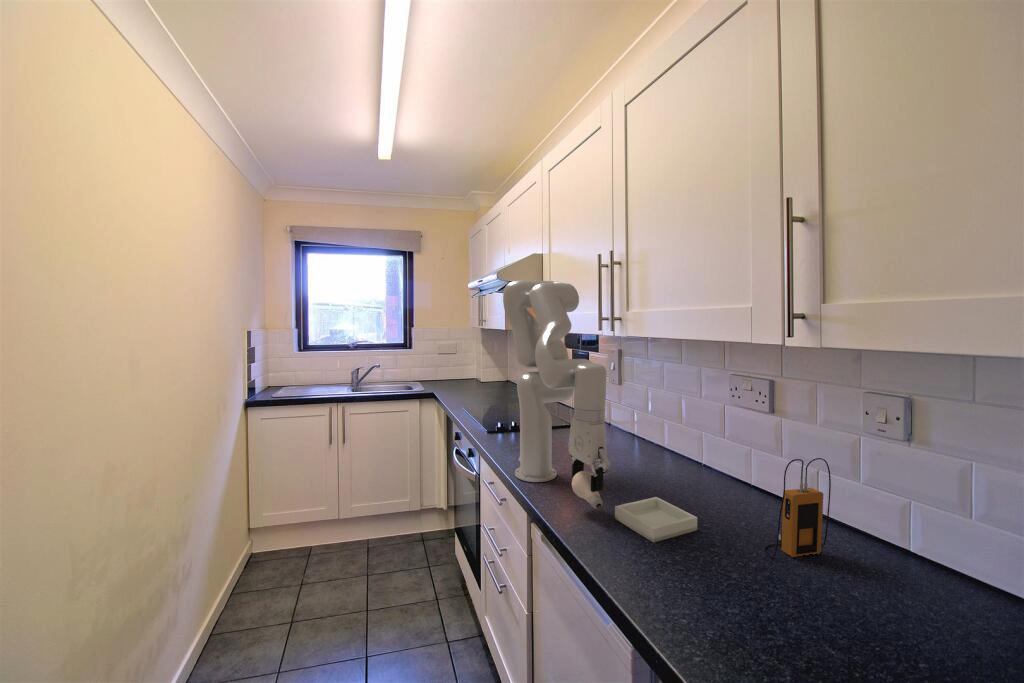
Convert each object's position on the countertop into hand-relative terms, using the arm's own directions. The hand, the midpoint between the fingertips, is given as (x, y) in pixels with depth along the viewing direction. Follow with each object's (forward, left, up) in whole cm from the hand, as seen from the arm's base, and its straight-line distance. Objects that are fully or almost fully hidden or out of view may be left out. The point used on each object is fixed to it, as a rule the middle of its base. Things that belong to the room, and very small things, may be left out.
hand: (586, 483), depth 113 cm
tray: (+12, +10, -7) cm, 18 cm away
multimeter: (+32, +29, -7) cm, 44 cm away
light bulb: (+1, -1, -4) cm, 4 cm away
